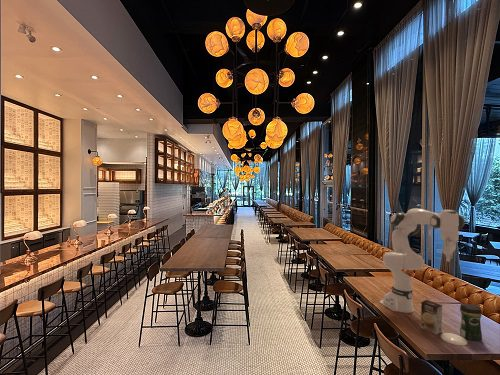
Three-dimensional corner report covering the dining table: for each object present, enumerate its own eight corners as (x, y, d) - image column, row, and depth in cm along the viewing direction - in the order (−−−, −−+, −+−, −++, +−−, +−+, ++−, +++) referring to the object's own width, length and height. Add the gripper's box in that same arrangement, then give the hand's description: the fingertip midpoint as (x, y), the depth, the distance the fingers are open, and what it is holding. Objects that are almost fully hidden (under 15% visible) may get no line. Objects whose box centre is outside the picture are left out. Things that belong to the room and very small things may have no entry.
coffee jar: (476, 334, 166) (476, 302, 166) (484, 342, 158) (484, 308, 158) (457, 333, 168) (457, 301, 167) (464, 340, 160) (464, 306, 160)
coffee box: (420, 328, 173) (420, 301, 173) (425, 325, 176) (426, 299, 176) (436, 335, 165) (436, 307, 165) (442, 332, 168) (442, 304, 168)
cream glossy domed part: (435, 337, 162) (435, 335, 162) (449, 332, 167) (449, 331, 167) (458, 348, 152) (458, 346, 152) (472, 343, 156) (472, 341, 156)
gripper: (453, 239, 164) (452, 264, 164) (458, 235, 179) (458, 257, 179) (440, 238, 168) (439, 262, 168) (446, 234, 183) (446, 256, 183)
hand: (449, 259), depth 173 cm, fingers open, 8 cm apart
